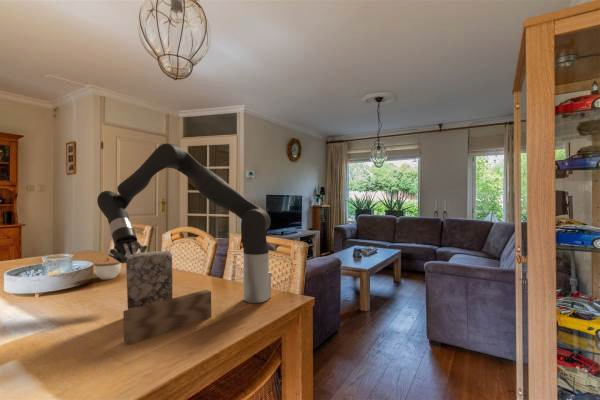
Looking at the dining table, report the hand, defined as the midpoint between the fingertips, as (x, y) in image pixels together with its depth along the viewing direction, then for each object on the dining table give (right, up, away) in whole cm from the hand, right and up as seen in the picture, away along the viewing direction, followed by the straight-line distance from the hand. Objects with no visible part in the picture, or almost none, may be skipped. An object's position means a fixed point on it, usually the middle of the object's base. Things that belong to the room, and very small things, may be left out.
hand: (135, 270), depth 104 cm
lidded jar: (-33, -12, +36) cm, 51 cm away
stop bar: (+21, -12, -18) cm, 30 cm away
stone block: (+10, -13, -9) cm, 18 cm away
